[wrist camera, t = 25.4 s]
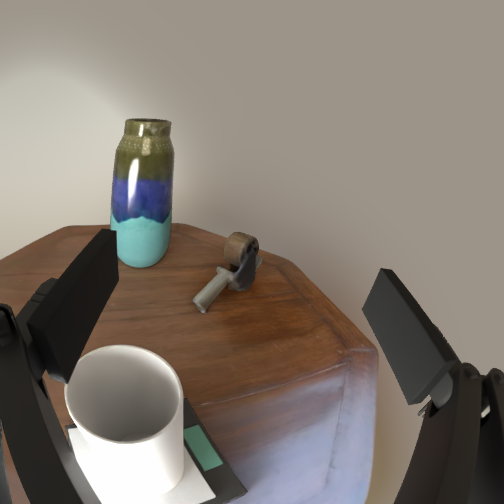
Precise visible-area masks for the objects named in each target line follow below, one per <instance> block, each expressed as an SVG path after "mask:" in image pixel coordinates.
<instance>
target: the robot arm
mask: <svg viewBox="0 0 504 504" xmlns="http://www.w3.org/2000/svg"><path fill="white" fill-rule="evenodd" d="M118 281H119V273H118V257H117V231H116V230H109V229H101V230H100V231H99V232H98V234H97V235H96V236H95V237H94V238H93V239H92V240H91V241H90V242H89V243H88V245H87V246H86V247H85V248H84V249H83V250H82V251H81V253H80V254H79V255H78V256H77V257H76V258H75V260H74V261H73V262H72V263H71V264H70V265H69V267H68V268H67V269H66V270H65V272H64V273H63V274H62V275H61V276H60V278H59V279H55V278H50V279H49V280H47V281H46V282H44V283H43V284H41V286H40V287H39V288H38V289H37V291H36V292H35V294H33V296H32V297H31V298H30V301H28V302H27V303H26V305H25V306H24V307H23V309H22V310H21V311H20V313H19V314H18V315H17V317H16V318H15V316H14V314H13V311H12V308H11V307H10V306H8V305H7V304H2V303H1V304H0V504H12V500H11V495H10V490H9V485H8V480H7V473H6V467H5V459H4V450H3V437H2V426H3V430H4V434H5V437H6V441H7V444H8V447H9V450H10V453H11V456H12V459H13V462H14V465H15V468H16V470H17V473H18V476H19V478H20V481H21V483H22V485H23V488H24V490H25V492H26V495H27V497H28V499H29V501H30V503H31V504H102V503H101V501H100V500H99V498H98V497H97V495H96V493H95V492H94V490H93V489H92V487H91V485H90V484H89V482H88V480H87V478H86V477H85V475H84V473H83V471H82V469H81V467H80V466H79V464H78V462H77V460H76V458H75V456H74V454H73V452H72V450H71V448H70V446H69V443H68V441H67V439H66V437H65V435H64V432H63V430H62V428H61V425H60V423H59V420H58V418H57V415H56V413H55V410H54V408H53V405H52V402H51V399H50V397H49V394H48V391H47V388H46V385H45V382H44V380H43V378H42V375H43V373H44V371H45V369H46V370H47V372H48V374H49V376H50V378H51V379H53V380H56V381H59V382H62V383H65V384H68V383H69V381H70V378H71V376H72V374H73V371H74V369H75V367H76V364H77V362H78V360H79V358H80V356H81V353H82V351H83V349H84V347H85V345H86V343H87V341H88V339H89V336H90V334H91V332H92V330H93V328H94V326H95V324H96V322H97V320H98V318H99V316H100V314H101V312H102V311H103V309H104V307H105V305H106V303H107V301H108V299H109V297H110V295H111V294H112V292H113V290H114V288H115V286H116V285H117V283H118ZM362 311H363V313H364V315H365V316H366V318H367V320H368V322H369V324H370V326H371V328H372V330H373V332H374V333H375V336H376V338H377V340H378V342H379V344H380V346H381V348H382V350H383V352H384V354H385V356H386V358H387V360H388V362H389V364H390V366H391V368H392V370H393V372H394V374H395V376H396V379H397V381H398V383H399V385H400V387H401V389H402V391H403V394H404V396H405V398H406V400H407V403H408V405H412V404H417V403H421V402H422V401H423V400H424V399H425V398H426V397H427V396H428V395H430V396H431V400H430V401H429V402H428V403H427V404H426V405H425V406H424V407H423V408H422V409H421V410H420V411H419V413H418V415H420V414H422V413H423V412H424V411H425V414H424V415H423V416H422V417H423V418H424V419H423V423H422V426H421V430H420V433H419V437H418V440H417V444H416V447H415V450H414V453H413V456H412V459H411V462H410V464H409V467H408V470H407V473H406V475H405V478H404V480H403V483H402V485H401V488H400V490H399V492H398V495H397V497H396V499H395V502H394V504H504V373H503V372H502V371H501V370H499V369H497V368H493V369H491V370H490V372H489V373H488V374H487V375H486V376H485V375H480V373H479V371H478V370H477V369H476V368H475V367H474V366H473V365H472V364H470V363H463V364H462V363H461V361H460V360H459V358H458V357H457V355H456V354H455V352H454V351H453V349H452V348H451V346H450V345H449V343H447V340H446V339H445V337H443V335H442V333H441V332H440V331H439V329H438V327H436V326H435V325H434V324H433V323H432V322H431V320H430V319H429V318H428V316H427V315H426V313H425V312H424V311H423V309H422V308H421V307H420V305H419V304H418V303H417V301H416V300H415V299H414V297H413V296H412V295H411V293H410V292H409V291H408V289H407V288H406V287H405V286H404V284H403V283H402V282H401V281H400V279H399V278H398V277H397V275H396V274H395V273H394V272H393V271H392V270H390V269H383V268H381V269H380V271H379V273H378V276H377V278H376V280H375V282H374V285H373V287H372V289H371V291H370V293H369V295H368V298H367V300H366V302H365V304H364V306H363V308H362ZM488 407H490V412H489V413H488V414H487V415H485V416H484V417H483V418H482V414H481V413H482V412H483V411H484V410H485V409H487V408H488Z"/></svg>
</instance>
